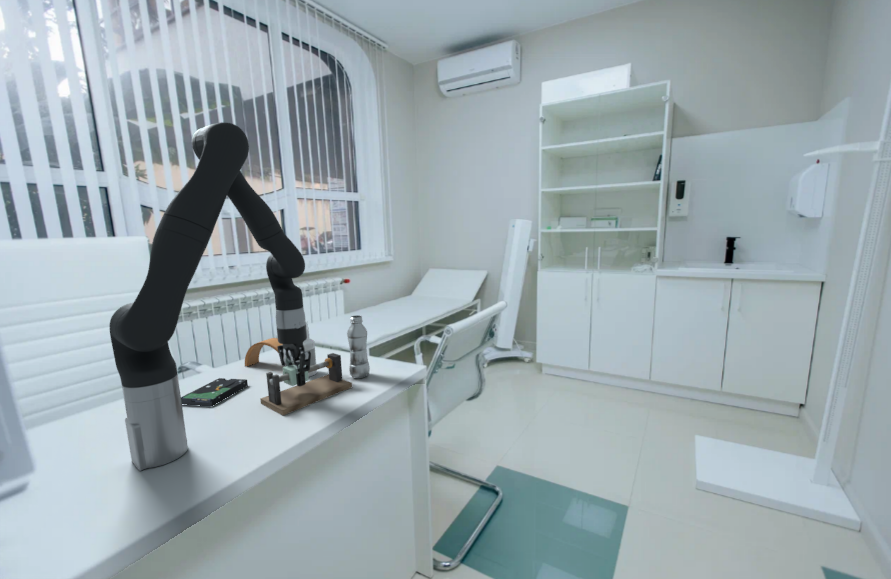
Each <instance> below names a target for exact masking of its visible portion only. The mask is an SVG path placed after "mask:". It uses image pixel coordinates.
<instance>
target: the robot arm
mask: <svg viewBox="0 0 891 579" xmlns="http://www.w3.org/2000/svg"><path fill="white" fill-rule="evenodd" d="M191 148H192V150H193V153H194V154H195V156H196V158H197V159H198V160H199V161H198V163H197V166H196V167H195V168H196V169H195V170H194V171H193V174H192V175H191V177H190V178H189V179H188V181H187V182H186V183H185V184H184V185H183V187H181V189H180V190H179V191H178V192H177V194H176V195H175V196H174V198H173V199H172V200H171V201H170V203H169V204H168V206H167V207H166V209H165V210H164V212H163V214H162V217H161V219H160V222H159V224H158V226H157V228H156V231H155V232H154V236H153V238H152V244H151V249H150V256H149V264H148V270H147V275H146V277H145V280H144V282H143V285H142V286H141V288H140V290H139V292H138V294H137V297H135V299H134V301H133V302H130V303H126V304H124V305H121V307H119V308H118V309H117V310H116V311H115V312H114V313H113V314H112V316H111V317H110V321H109V335H110V336H109V337H110V341H111V348H112V352H113V353H112V354H113V357H114V362H115V367H116V369H117V372H118V375H119V378H120V383H121V388H122V395H123V401H124V405H125V406H124V407H125V408H124V409H125V414H126V417H125V419H124V424H125V428H126V434H127V440H128V446H129V452H130V454H129V455H130V458H131V462H132V463H133V464H134V466H135V467H136V468H137V470H138V471H139V472H140V471H144V470H146V469H151V468H155V467H160V466H164V465H167V464H169V463H172V462H174V461H175V460H177V459H179V458H180V457H182V456H184V455H185V454H186V452H187V451H188V448H189V445H188V438H187V432H186V425H185V424H186V423H185V419H184V410H183V405H182V402H181V397H182V396H181V389H180V382H179V376H178V375H179V374H178V368H177V367H178V365H177V363H176V360H175V359H174V357H173V355H172V353H171V350H170V344H169V341H170V340H171V339H172V337H173V336H174V334H175V331H176V329H177V325H178V321H179V318H180V314H181V311H182V306H183V303H184V299H185V297H186V294H187V292H188V288H189V286H190V284H191V281H192V280H193V278H194V276H195V273H196V271H197V269H198V266H199V264H200V262H201V260H202V257H203V255H204V253H205V251H206V249H207V247H208V245H209V242H210V240H211V237H212V234H213V231H214V229H215V226H216V223H217V221H218V219H219V217H220V215H221V212H222V210H223V206H224V204H225V201H226V198H227V197H228V199H229V200H230V201H231V204H233V206H234V207H235V208H236V210H237V212H238V213H239V215H240V217H241V219H243V221H244V223H245V225H246V226H247V228H248V230H249V232H250V234H251V236H253V238H254V240H255V242H256V243H257V245H258V246H259V248H261V249H264V250H265V251H267V252H269V253H270V255H269V256H268V257H267V260H266V264H265V270H266V275H267V277H268V281H269V284H270V286H271V289H272V291H273V294H274V304H275V326H276V334H277V335H276V336H277V337H276V338H278V342H279V343H280V344H283V345H280V346H277V348H278V352H277V354H278V356H279V360H280V366H282V367H286V366H289V365H293V366H295V370H296V373H297V374H296V379H297V385H296V386H299V387H300V386H303V385H305V384H306V382H307V381H305V372H306V371H309V370H310V360H311V352H310V351H308V352H306V351H305V350H304V346H303V342H304V341H305V340H306V339H307V332H306V321H307V320H306V313H305V309H304V299H303V290H302V289H301V288H300V287H299V286H297V285H296V284H295V283H294V281H293V279H296V278H299V277H301V276H303V274H304V272H305V269H306V262H305V259H304V256H303V254H302V253H301V251H300V250H299V249H298V247H297V246H296V245H295V244H294V243H293V241H292V240H291V239H290V238H289V237H288V236H287V235H286V234H285V232H284V230H283V227H282V226H281V224H280V222H279V220H278V218H277V217H276V215H275V212H274V211H273V210H272V209H271V208H270V206H269V205H268V204H267V203H266V201H265V200H264V199H263V198H262V197H261V196H260V195H259V194H258V193H257V192H256V191H255V189H254V188H253V187H252V186H251V185H250V183H249V182H248V181H247V179H246V178H245V176H244V175H243V173H242V171H241V170H242V168H243V166H244V165H245V163H246V161H247V159H248V156H249V153H250V144H249V140H248V137H247V135H246V133H245V132H244V131H243V129H242V128H240V127H239V126H238V125H236V124H234V123H231V122H225V121H223V122H222V121H221V122H216V123H211V124H209V125H206V126H203V127H201V128H199V129H197V130H196V131H195V132H194V133H193V135H192V138H191ZM298 360H300V361H299V362H296V361H298ZM299 364H300V366H299V367H298V365H299ZM305 365H306V367H305Z"/></svg>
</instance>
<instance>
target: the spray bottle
mask: <svg viewBox="0 0 891 579" xmlns="http://www.w3.org/2000/svg"><path fill="white" fill-rule="evenodd" d="M306 332H307V339H306V340H305V341H304V342H303V346H304V350H305V351H306V352H308V351H310V352H311V360H310V366H313V365H316V364H317V359H316V345H315V341H314V339H312V338H310V331H309V326H308V321H307V320H306ZM299 361H300V360H298V361H296V362H299ZM317 373H318V370H315V371H312V372H309V373H308V377H309V378H310V377H312V376H314V375H316V374H317Z"/></svg>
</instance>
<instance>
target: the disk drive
mask: <svg viewBox="0 0 891 579" xmlns="http://www.w3.org/2000/svg"><path fill="white" fill-rule="evenodd" d="M246 386H247V387H249V386H248V379H246V378H245V379H242V378H230V379H226V378H224V377H223V378H220V377H219V378H217V379H215V380H213V381H211V382H209V383H207V384H205V385H203V386H201V387H199V388H197V389H195V390H192V391H191V392H188V393H187V394H185V395H183V396H181V402H182V404H187V405H200V406H199V407H202V406H213V405H215V404H216V403H218V402H220V401H221V402H223V401H224V400H223V399H225V398H226V399H228V398H230V397H231V395H232V394H233V395H235V394H237V393H238V392H240V391H242V390H243V388H244V389H245V388H247V387H246ZM241 389H242V390H241ZM239 390H240V391H239ZM236 392H237V393H236ZM234 393H235V394H234ZM233 395H232V396H233ZM229 396H230V397H229ZM227 397H228V398H227ZM226 399H225V400H226ZM222 400H223V401H222ZM221 402H220V403H221ZM218 404H219V403H218ZM187 405H186V406H187ZM216 405H217V404H216ZM216 405H215V406H216ZM213 407H214V406H213Z"/></svg>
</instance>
